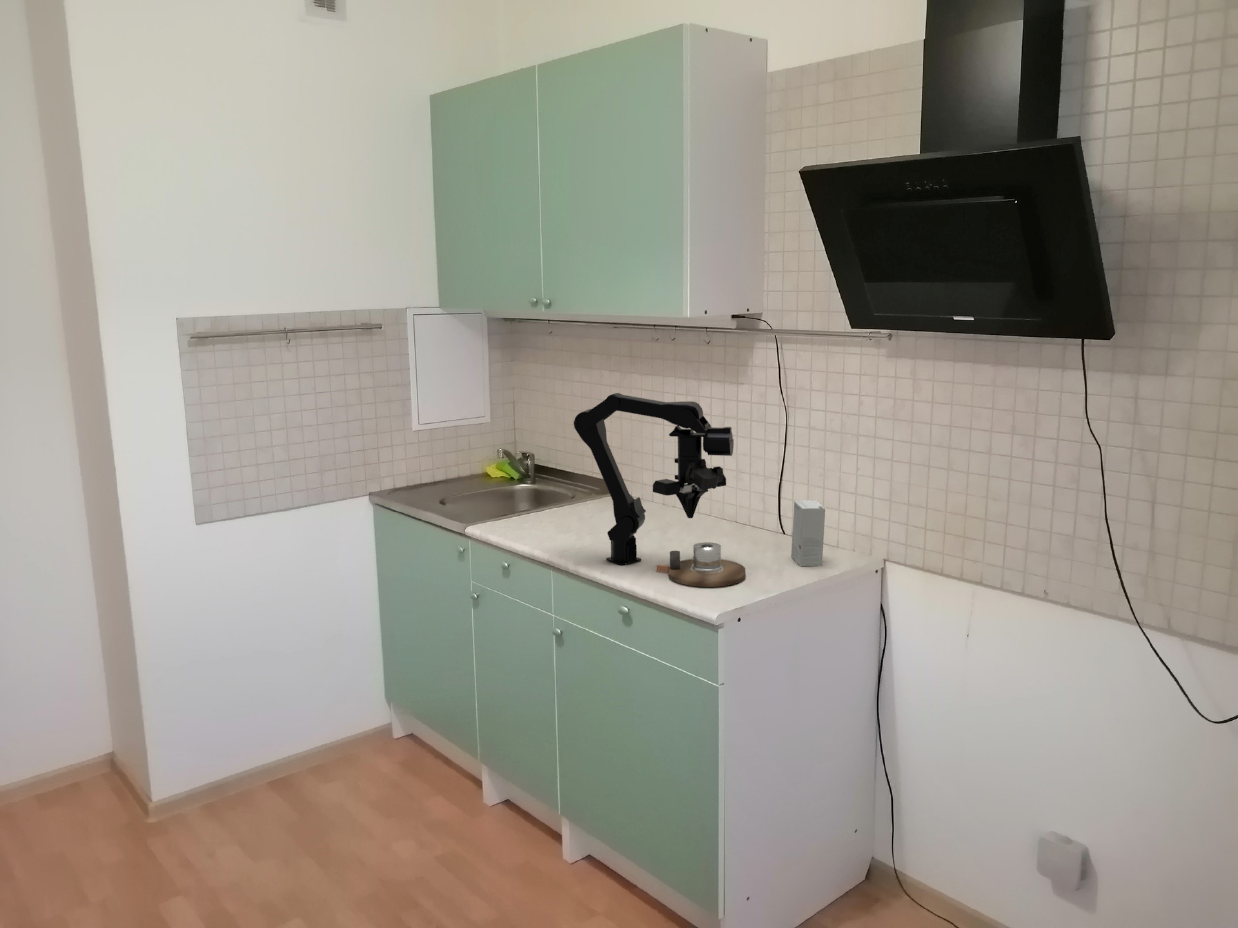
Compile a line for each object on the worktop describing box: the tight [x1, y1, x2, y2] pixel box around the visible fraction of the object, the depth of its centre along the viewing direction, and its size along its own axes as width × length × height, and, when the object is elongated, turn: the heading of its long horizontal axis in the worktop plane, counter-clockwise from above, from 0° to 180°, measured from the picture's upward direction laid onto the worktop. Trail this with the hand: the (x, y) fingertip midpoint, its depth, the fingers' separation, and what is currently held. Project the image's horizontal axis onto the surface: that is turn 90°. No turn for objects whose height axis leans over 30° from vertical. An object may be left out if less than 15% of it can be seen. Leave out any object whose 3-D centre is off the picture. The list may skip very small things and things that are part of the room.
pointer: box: [655, 564, 670, 574], centre depth 234 cm, size 3×1×2 cm, turn 67°
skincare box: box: [790, 499, 826, 567], centre depth 239 cm, size 8×6×15 cm
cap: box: [692, 541, 722, 573], centre depth 229 cm, size 7×7×6 cm
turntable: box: [668, 550, 746, 588], centre depth 229 cm, size 18×18×6 cm
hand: (690, 518), depth 237 cm, fingers closed
